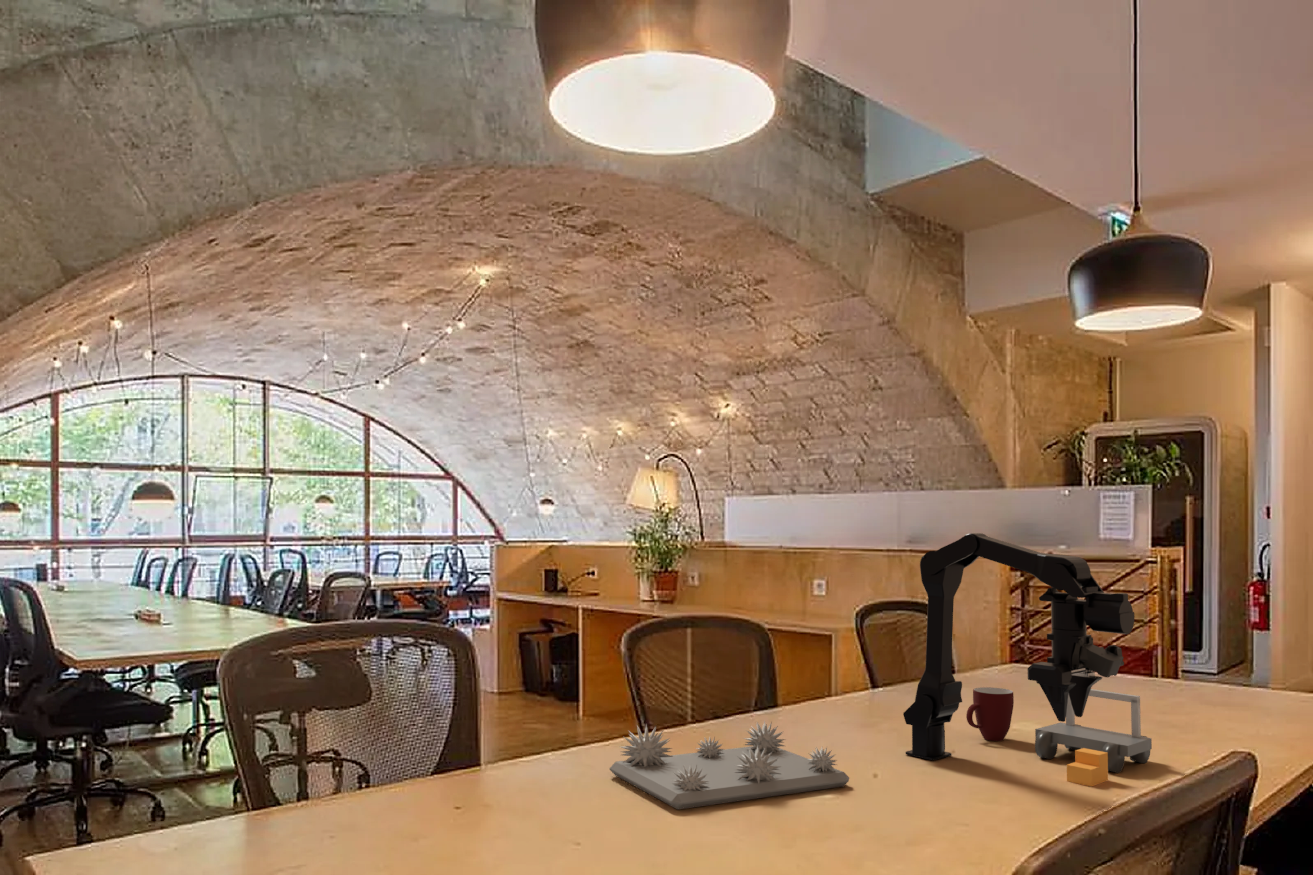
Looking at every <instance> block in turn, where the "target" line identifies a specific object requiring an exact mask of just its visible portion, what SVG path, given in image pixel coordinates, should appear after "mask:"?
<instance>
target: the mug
mask: <svg viewBox="0 0 1313 875" xmlns="http://www.w3.org/2000/svg"><path fill="white" fill-rule="evenodd" d="M1014 702H1015V700H1014V691H1013V690H1010V689H1008V688H1007V689H1006V688H1004V687H1003V688H1002V687H993V686H992V687H991V686H990V687H987V686H986V687H984V686H983V687H982V686H981V687H975V688H973V690H972V704H970V705H969V707H968V708H967V710H966V713H965V714H966V718H965V719H966V722H967V723H968V725H969V726H970V727H972V728H974V729H978V730H979V733H980V734H981V736H982V738H983V739H984V740H986V741H989V742H990V741H991V742H1002V741H1004V740H1005V738H1006V736H1007V734H1008V733H1009V731H1010V727H1011V722H1012V716H1013V711H1014ZM973 714H975V719H976V723H975V722H974V720H973Z"/></svg>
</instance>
